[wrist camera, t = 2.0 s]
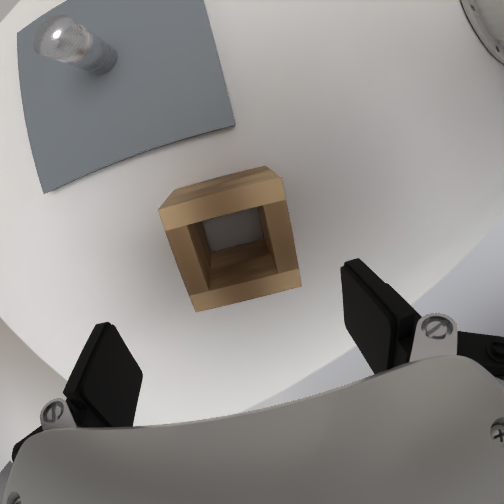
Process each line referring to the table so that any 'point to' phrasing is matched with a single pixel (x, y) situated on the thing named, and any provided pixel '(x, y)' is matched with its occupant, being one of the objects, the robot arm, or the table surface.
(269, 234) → the oak frame
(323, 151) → the table surface
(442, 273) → the table surface
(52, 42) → the metal post
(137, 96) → the slate board
